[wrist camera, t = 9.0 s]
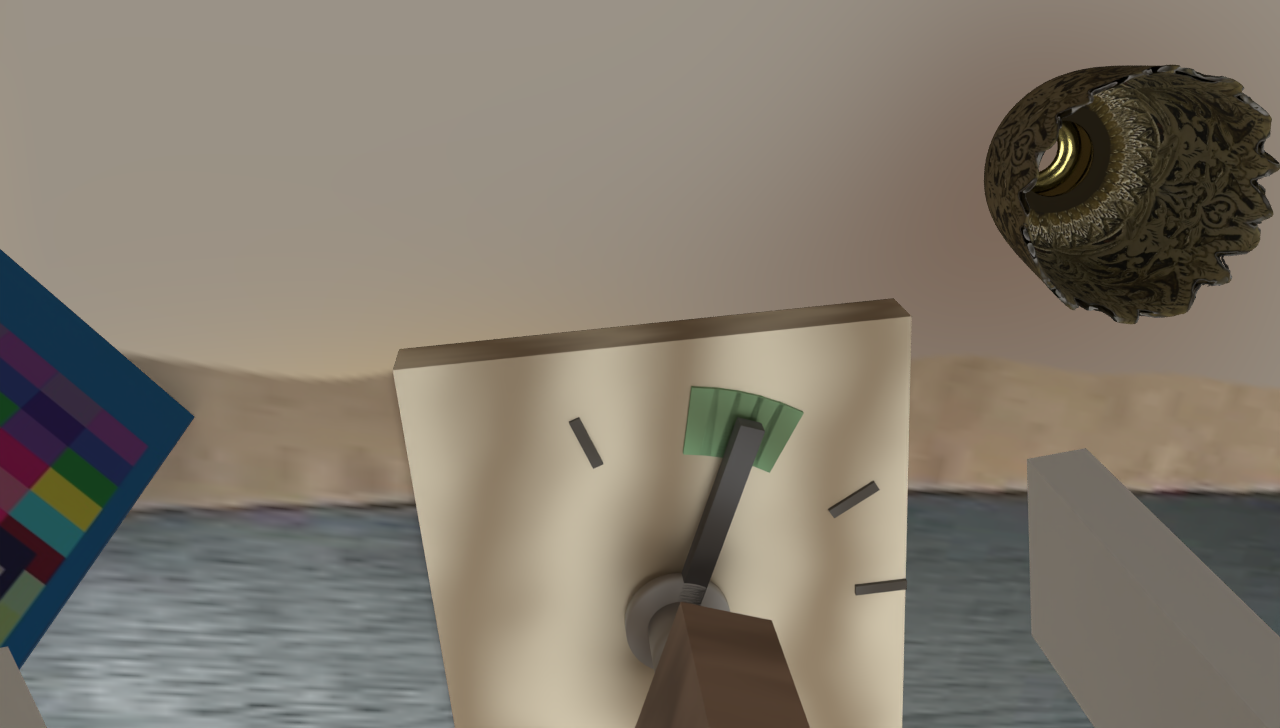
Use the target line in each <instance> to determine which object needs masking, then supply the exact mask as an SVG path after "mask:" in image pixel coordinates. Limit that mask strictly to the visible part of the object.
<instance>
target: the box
mask: <svg viewBox="0 0 1280 728" xmlns="http://www.w3.org/2000/svg"><path fill="white" fill-rule="evenodd" d="M193 419H194V416H193V415H192V414H191V413H190V412H188V411H187V410H186V409H185V408H184V407H183V406H181V405H180V404H179V403H178V402H177V401H176V400H175V399H173V398H172V397H171V396H170V395H169V394H168V393H166V392H165V391H164V390H163V389H162V388H161V387H159V386H158V385H157V384H156V383H155V382H154V381H152V380H151V379H150V378H149V377H148V376H147V375H146V374H144V373H143V372H142V371H141V370H140V369H139V368H137V367H136V366H135V365H134V364H133V363H132V362H130V361H129V360H128V359H127V358H126V357H125V356H123V355H122V354H121V353H120V352H119V351H118V350H117V349H116V348H114V347H113V346H112V345H111V344H110V343H109V342H108V341H106V340H105V339H104V338H103V337H102V336H101V335H99V334H98V333H97V332H96V331H95V330H93V329H92V328H91V327H90V326H89V325H88V324H87V323H85V322H84V321H83V320H82V319H81V318H80V317H78V316H77V315H76V314H75V313H74V312H73V311H72V310H70V309H69V308H68V307H67V306H66V305H65V304H63V303H62V302H61V301H60V300H59V299H58V298H56V297H55V296H54V295H53V294H52V293H51V292H49V291H48V290H47V289H46V288H45V287H44V286H43V285H41V284H40V283H39V282H38V281H37V280H36V279H34V278H33V277H32V276H31V275H30V274H28V273H27V272H26V271H25V270H24V269H23V268H22V267H20V266H19V265H18V264H17V263H16V262H14V260H12V259H11V258H10V257H9V256H8V255H7V254H5V253H4V252H3V251H2V250H1V249H0V648H2V647H8V648H9V650H10V652H11V654H12V656H13V658H14V660H15V663H16V665H17V667H18V669H19V670H20V668H21V667H22V665H23V664H24V662H25V661H26V660H27V658H28V657H29V655H30V654H31V652H32V651H33V649H34V648H35V647H36V645H37V644H38V642H39V641H40V639H41V638H42V637H43V635H44V634H45V632H46V631H47V629H48V628H49V626H50V625H51V624H52V622H53V621H54V619H55V618H56V616H57V615H58V613H59V612H60V611H61V609H62V608H63V606H64V605H65V603H66V602H67V600H68V599H69V598H70V596H71V595H72V593H73V592H74V590H75V589H76V587H77V586H78V585H79V583H80V582H81V580H82V579H83V577H84V576H85V574H86V573H87V572H88V570H89V569H90V567H91V566H92V564H93V563H94V561H95V560H96V559H97V557H98V556H99V554H100V553H101V551H102V550H103V548H104V547H105V546H106V544H107V543H108V541H109V540H110V538H111V537H112V536H113V534H114V533H115V531H116V530H117V528H118V527H119V525H120V524H121V523H122V521H123V520H124V518H125V517H126V515H127V514H128V512H129V511H130V510H131V508H132V507H133V505H134V504H135V502H136V501H137V499H138V498H139V497H140V495H141V494H142V492H143V491H144V489H145V488H146V486H147V485H148V484H149V482H150V481H151V479H152V478H153V476H154V475H155V473H156V472H157V471H158V469H159V468H160V466H161V465H162V463H163V462H164V460H165V459H166V458H167V456H168V455H169V453H170V452H171V450H172V449H173V447H174V446H175V445H176V443H177V442H178V440H179V439H180V437H181V436H182V435H183V433H184V432H185V430H186V429H187V427H188V426H189V424H190V423H191V422H192V420H193Z"/></svg>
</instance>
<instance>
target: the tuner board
mask: <svg viewBox="0 0 1280 728" xmlns="http://www.w3.org/2000/svg"><path fill="white" fill-rule="evenodd" d="M911 317H912V316H910V314H909V313H908V312H907V311H906V310H905V309H904V308H902V306H901V305H900V304H898V302H897V301H895V299H883V300H873V301H863V302H854V303H845V304H835V305H824V306H815V307H805V308H795V309H786V310H776V311H766V312H756V313H748V314H737V315H727V316H718V317H708V318H698V319H689V320H679V321H669V322H659V323H649V324H641V325H630V326H620V327H611V328H601V329H592V330H582V331H572V332H562V333H553V334H543V335H533V336H523V337H513V338H504V339H494V340H485V341H475V342H466V343H456V344H446V345H436V346H427V347H416V348H408V349H400V350H399V352H398V355H397V358H396V362H395V365H394V368H393V375H394V380H395V386H396V392H397V398H398V403H399V409H400V415H401V421H402V426H403V432H404V438H405V443H406V449H407V455H408V461H409V466H410V472H411V478H412V484H413V489H414V495H415V501H416V507H417V512H418V518H419V524H420V529H421V535H422V541H423V547H424V552H425V558H426V564H427V570H428V575H429V581H430V587H431V593H432V598H433V604H434V610H435V616H436V621H437V627H438V633H439V638H440V644H441V650H442V656H443V661H444V667H445V673H446V679H447V684H448V690H449V696H450V702H451V707H452V713H453V719H454V725H455V728H635V726H636V724H637V721H638V718H639V715H640V713H641V710H642V707H643V704H644V701H645V699H646V696H647V693H648V690H649V688H650V685H651V682H652V679H653V677H654V674H655V673H654V669H652V668H650V667H648V666H646V665H645V664H643V663H642V662H640V661H639V660H638V659H637V658H636V657H635V655H634V654H633V653H632V651H631V649H630V647H629V645H628V642H627V637H626V630H625V613H626V609H627V606H628V604H629V602H630V600H631V599H632V597H633V596H634V594H635V593H636V592H637V591H638V590H639V589H640V588H641V587H642V586H644V585H645V584H646V583H648V582H649V581H651V580H653V579H655V578H657V577H660V576H663V575H667V574H672V573H682V570H683V567H684V564H685V561H686V559H687V556H688V553H689V550H690V548H691V545H692V542H693V539H694V536H695V534H696V531H697V528H698V525H699V522H700V520H701V517H702V514H703V511H704V509H705V506H706V503H707V500H708V497H709V495H710V492H711V489H712V486H713V483H714V481H715V478H716V475H717V472H718V470H719V467H720V464H721V461H722V458H723V456H724V453H725V450H726V447H727V444H728V442H729V439H730V436H731V433H732V431H733V428H734V425H735V422H736V419H737V417H739V418H743V419H748V420H752V421H756V422H760V423H762V425H763V428H764V430H765V433H764V436H763V439H762V441H761V444H760V447H759V449H758V452H757V455H756V458H755V460H754V463H753V466H752V468H751V471H750V474H749V476H748V479H747V482H746V485H745V487H744V490H743V493H742V495H741V498H740V501H739V503H738V506H737V509H736V511H735V514H734V517H733V520H732V522H731V525H730V528H729V530H728V533H727V536H726V538H725V541H724V544H723V547H722V549H721V552H720V555H719V557H718V560H717V563H716V565H715V568H714V571H713V574H712V576H711V579H710V581H712V582H713V583H714V584H716V585H717V586H718V587H719V588H720V589H721V591H722V592H723V594H724V595H725V597H726V599H727V602H728V605H729V608H730V612H733V613H738V614H743V615H748V616H753V617H758V618H763V619H768V620H772V622H773V625H774V628H775V631H776V633H777V636H778V639H779V642H780V645H781V647H782V650H783V653H784V656H785V659H786V661H787V664H788V667H789V670H790V673H791V676H792V678H793V681H794V684H795V687H796V690H797V692H798V695H799V698H800V701H801V704H802V706H803V709H804V712H805V715H806V718H807V721H808V723H809V726H810V728H902V707H903V664H904V620H905V590H907V580H906V579H905V577H906V534H907V490H908V447H909V403H910V360H911Z"/></svg>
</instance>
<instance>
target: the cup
mask: <svg viewBox="0 0 1280 728" xmlns="http://www.w3.org/2000/svg"><path fill="white" fill-rule="evenodd" d="M1243 89H1244V87H1243V86H1242V85H1241V84H1240V83H1239V82H1237V81H1235V80H1233V79H1231V78H1227V77H1223V76H1220V77H1218V76H1211V75H1204V74H1201V73H1199V72H1196V71H1194V69H1190V68H1180V66H1179V65H1164V66H1106V67H1094V68H1088V69H1082V70H1078V71H1074V72H1070V73H1067V74H1064V75H1061V76H1058V77H1056V78H1053V79H1051V80H1049V81H1047V82H1045V83H1043V84H1042V85H1040V86H1038V87H1036V88H1035V89H1034V90H1032V91H1031V92H1030V93H1028V94H1027V95H1026V96H1025V97H1024V98H1022V99H1021V100H1020V101H1019V102H1018V103H1017V104H1016V105H1015V106H1014V107H1013V108H1012V109H1011V110H1010V111H1009V113H1008V114H1007V115H1006V116H1005V118H1004V119H1003V121H1002V122H1001V124H1000V125H999V127H998V129H997V131H996V132H995V134H994V137H993V139H992V141H991V144H990V147H989V150H988V153H987V157H986V163H985V171H984V187H985V188H984V189H985V196H986V201H987V204H988V208H989V211H990V213H991V216H992V218H993V220H994V222H995V225H996V226H997V228H998V230H999V231H1000V233H1001V234H1002V236H1003V237H1004V239H1005V240H1006V242H1007V243H1008V244H1009V245H1010V247H1011V248H1012V249H1013V250H1014V251H1015V253H1016V254H1017V255H1018V256H1019V257H1020V258H1021V259H1022V260H1023V262H1024V263H1025V264H1026V265H1027V266H1028V267H1029V268H1030V269H1031V270H1032V271H1033V272H1034V273H1035V274H1036V275H1037V276H1038V277H1039V278H1040V279H1041V280H1042V281H1043V282H1044V283H1045V284H1046V286H1047V287H1048V288H1049V289H1050V290H1051V291H1052V292H1053V293H1054V294H1055V295H1056V296H1057V297H1058V298H1059V299H1060V300H1061V301H1062V302H1063V303H1064V304H1065V305H1066V306H1067V307H1069V308H1070V309H1072V310H1075V309H1076V308H1078V306H1080V307H1082V308H1084V309H1086V310H1090V311H1091V310H1096V311H1101V312H1103V313H1105V314H1107V315H1108V316H1110V317H1111V318H1112V319H1113V320H1114V321H1116V322H1119V323H1126V324H1135V323H1137V322H1138V319H1139V316H1148V317H1154V318H1160V317H1161V318H1162V317H1171V316H1176V315H1179V314H1184V313H1186V312H1188V310H1189V309H1190V308H1191V306H1192V304H1193V302H1194V300H1195V298H1196V293H1197V291H1198V290H1199V288H1200V287H1201V284H1202V285H1205V284H1209V286H1210V285H1211V286H1215V285H1219V286H1220V285H1223V284H1225V283H1229V282H1230V281H1231V279H1232V276H1231V274H1230V270H1229V268H1228V266H1227V264H1226V263H1225V261H1224V259H1223V257H1224V256H1234V255H1242V254H1247V253H1248V252H1250V251H1252V250H1253V249H1254V248H1255V247H1256V246H1257V245H1258V243H1259V241H1260V232H1261V230H1260V229H1259V228H1258V225H1257V224H1260V223H1261V221H1263V220H1265V219H1268V218H1270V217H1272V216H1273V210H1272V208H1271V205H1270V203H1269V201H1268V199H1267V198H1266V196H1265V189H1264V187H1263V186H1262V185H1260V184H1258V182H1257V180H1258V179H1261V178H1263V177H1267V176H1270V175H1271V174H1273V173H1274V172H1276V171H1278V170H1279V169H1280V164H1279V162H1278V161H1277V160H1275V159H1274V158H1273V157H1272V156H1271V155H1269V154H1268V153H1266V152H1265V151H1264V142H1265V141H1266V139H1267V138H1269V137H1270V129H1271V121H1272V119H1271V117H1270V115H1269V114H1268V113H1267V112H1266V110H1264V109H1263V108H1262V107H1260V106H1259V105H1258V104H1257V103H1255V102H1254V101H1252V99H1251V98H1250V97H1248V96H1247V95H1245V94H1244V93H1242V90H1243ZM1056 141H1057V142H1058V150H1057V155H1056V157H1055V158H1054V160H1053V162H1052V163H1051V164H1050V165H1049V166H1048V167H1047V168H1046V169H1044V170H1042V171H1040V172H1039V169H1038V168H1039V164H1040V161H1041V159H1042V156H1043V155H1044V153H1045V151H1046V150H1048V149H1050V148H1051V147H1052V146H1053V145H1054V144H1055V143H1056ZM1221 256H1222V257H1221ZM1220 257H1221V259H1222V261H1221V260H1220ZM1222 262H1223V263H1224V265H1225V266H1224V265H1223V264H1222Z"/></svg>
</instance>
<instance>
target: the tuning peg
mask: <svg viewBox="0 0 1280 728" xmlns="http://www.w3.org/2000/svg"><path fill="white" fill-rule="evenodd" d="M764 433H765V430H764V428H763V425H762V423H760V422H756V421H752V420H748V419H743V418H739V417H737V419H736V422H735V425H734V428H733V431H732V433H731V436H730V439H729V442H728V444H727V447H726V450H725V453H724V456H723V458H722V461H721V464H720V467H719V470H718V472H717V475H716V478H715V481H714V483H713V486H712V489H711V492H710V495H709V497H708V500H707V503H706V506H705V509H704V511H703V514H702V517H701V520H700V522H699V525H698V528H697V531H696V534H695V536H694V539H693V542H692V545H691V548H690V550H689V553H688V556H687V559H686V561H685V564H684V567H683V570H682V573H672V574H667V575H663V576H660V577H657V578H655V579H653V580H651V581H649V582H648V583H646V584H645V585H644V586H642V587H641V588H640V589H639V590H638V591H637V592H636V593H635V594H634V596H633V597H632V599H631V600H630V602H629V604H628V606H627V609H626V613H625V630H626V637H627V642H628V645H629V647H630V649H631V651H632V653H633V654H634V655H635V657H636V658H637V659H638V660H639V661H640V662H642V663H643V664H645V665H646V666H648V667H650V668H652V669H654V673H655V674H654V677H653V679H652V682H651V685H650V688H649V690H648V693H647V696H646V699H645V701H644V704H643V707H642V710H641V713H640V715H639V718H638V721H637V724H636V726H635V728H810V726H809V723H808V721H807V718H806V715H805V712H804V709H803V706H802V704H801V701H800V698H799V695H798V692H797V690H796V687H795V684H794V681H793V678H792V676H791V673H790V670H789V667H788V664H787V661H786V659H785V656H784V653H783V650H782V647H781V645H780V642H779V639H778V636H777V633H776V631H775V628H774V625H773V622H772V620H768V619H763V618H758V617H753V616H748V615H743V614H738V613H733V612H730V608H729V605H728V602H727V599H726V597H725V595H724V594H723V592H722V591H721V589H720V588H719V587H718V586H717V585H716V584H714V583H713V582H712V581H710V579H711V576H712V574H713V571H714V568H715V565H716V563H717V560H718V557H719V555H720V552H721V549H722V547H723V544H724V541H725V538H726V536H727V533H728V530H729V528H730V525H731V522H732V520H733V517H734V514H735V511H736V509H737V506H738V503H739V501H740V498H741V495H742V493H743V490H744V487H745V485H746V482H747V479H748V476H749V474H750V471H751V468H752V466H753V463H754V460H755V458H756V455H757V452H758V449H759V447H760V444H761V441H762V439H763V436H764Z"/></svg>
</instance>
